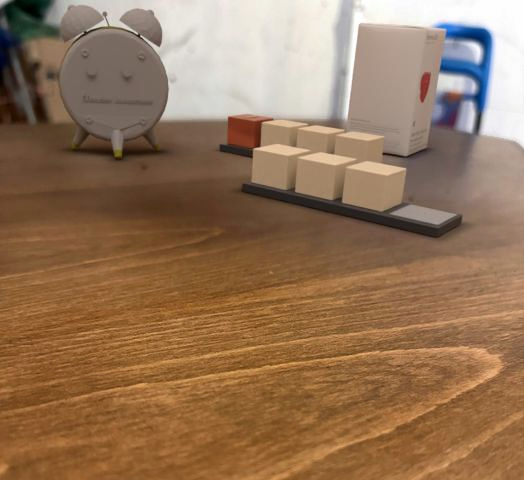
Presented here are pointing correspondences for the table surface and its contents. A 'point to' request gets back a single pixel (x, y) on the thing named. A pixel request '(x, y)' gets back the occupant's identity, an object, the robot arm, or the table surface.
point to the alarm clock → (113, 77)
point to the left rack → (316, 141)
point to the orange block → (245, 130)
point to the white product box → (395, 84)
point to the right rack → (343, 188)
